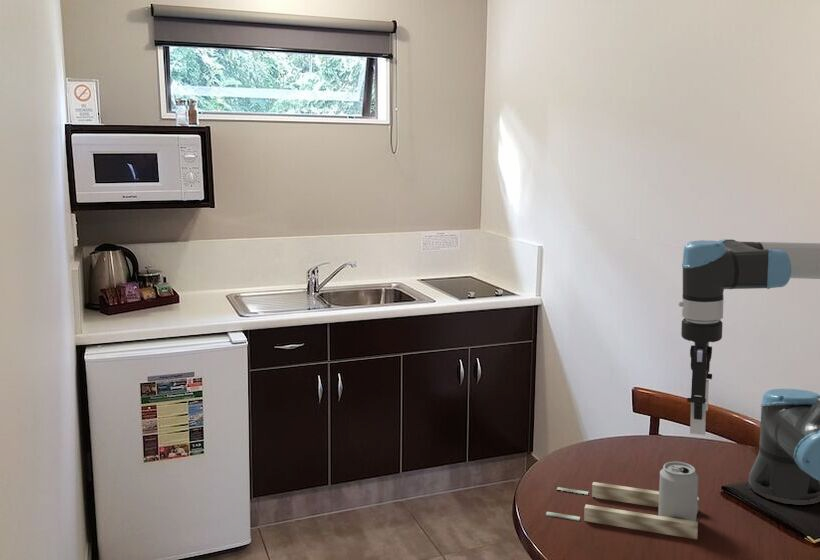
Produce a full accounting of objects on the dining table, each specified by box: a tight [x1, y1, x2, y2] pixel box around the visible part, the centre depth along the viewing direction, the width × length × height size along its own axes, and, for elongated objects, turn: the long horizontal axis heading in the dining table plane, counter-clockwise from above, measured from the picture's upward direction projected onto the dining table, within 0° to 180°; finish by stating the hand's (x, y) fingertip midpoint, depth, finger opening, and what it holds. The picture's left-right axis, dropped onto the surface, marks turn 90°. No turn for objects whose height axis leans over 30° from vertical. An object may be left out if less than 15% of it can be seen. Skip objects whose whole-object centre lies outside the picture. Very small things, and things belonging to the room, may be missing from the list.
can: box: [657, 461, 699, 522], centre depth 150 cm, size 8×8×12 cm
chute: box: [545, 481, 700, 540], centre depth 155 cm, size 30×13×3 cm, turn 68°
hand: (699, 421), depth 148 cm, fingers open, 13 cm apart
